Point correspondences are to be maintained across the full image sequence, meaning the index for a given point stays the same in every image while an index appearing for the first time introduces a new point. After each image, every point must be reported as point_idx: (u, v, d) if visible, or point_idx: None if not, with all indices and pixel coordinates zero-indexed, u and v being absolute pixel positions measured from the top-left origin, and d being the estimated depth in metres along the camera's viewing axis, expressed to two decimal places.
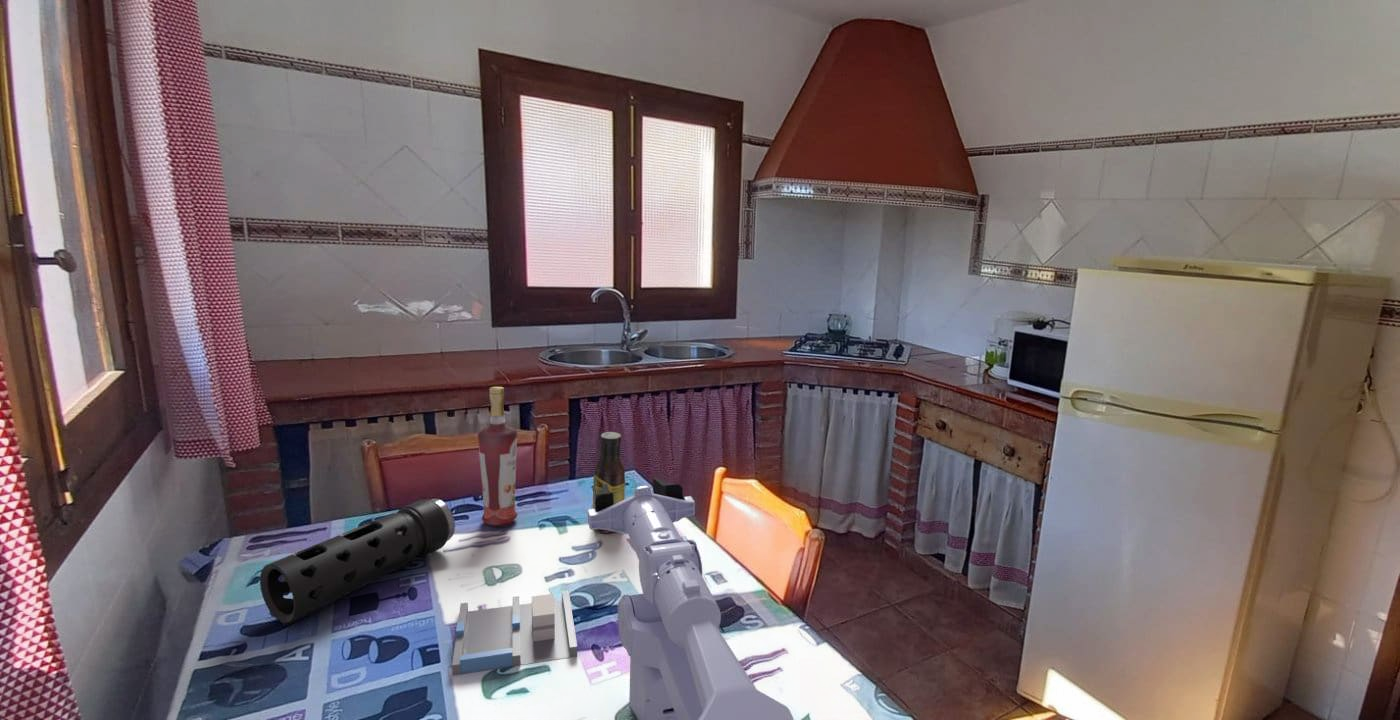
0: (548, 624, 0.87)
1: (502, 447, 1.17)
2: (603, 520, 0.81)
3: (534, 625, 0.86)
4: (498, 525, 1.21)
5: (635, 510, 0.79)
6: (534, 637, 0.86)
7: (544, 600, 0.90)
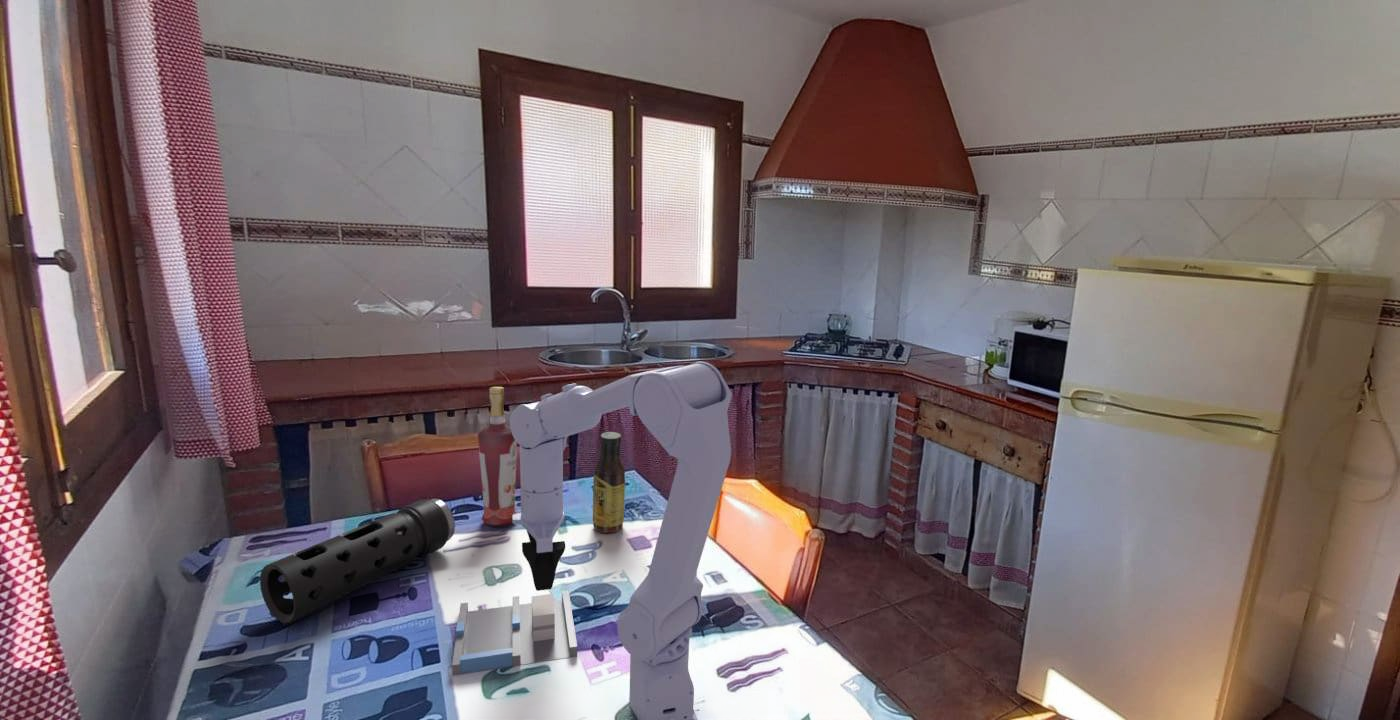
0: (548, 624, 0.87)
1: (502, 447, 1.17)
2: (543, 532, 0.81)
3: (534, 625, 0.86)
4: (498, 525, 1.21)
5: (525, 502, 0.83)
6: (534, 637, 0.86)
7: (544, 600, 0.90)
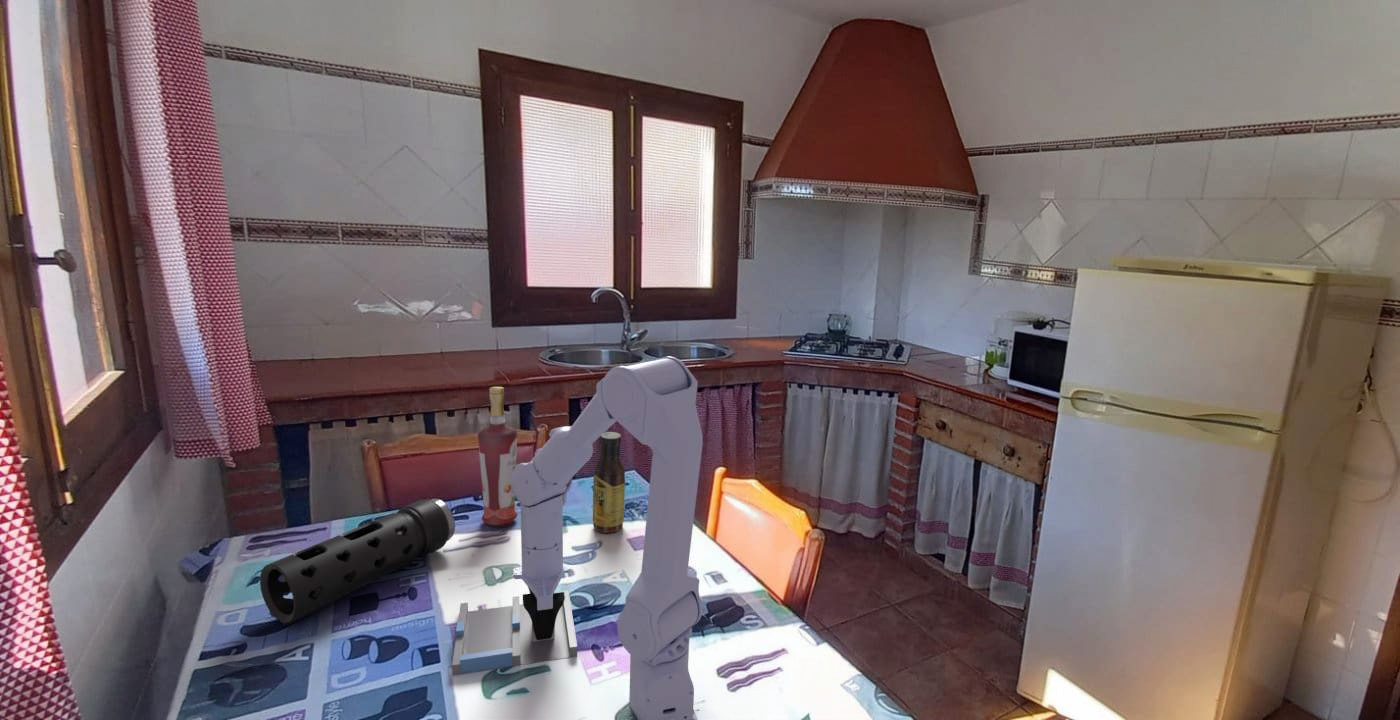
0: None
1: (502, 447, 1.17)
2: (543, 589, 0.82)
3: None
4: (498, 525, 1.21)
5: (525, 558, 0.85)
6: (534, 637, 0.86)
7: None
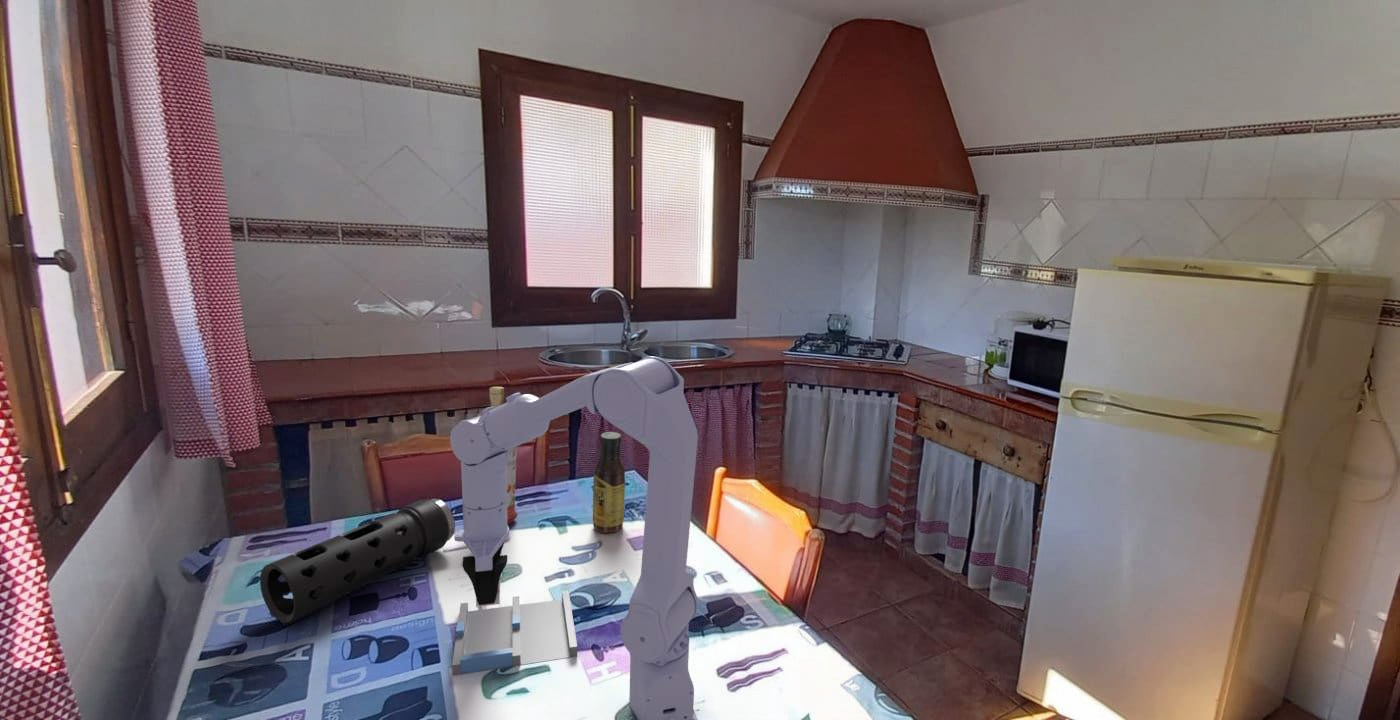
0: None
1: None
2: (483, 550, 0.79)
3: None
4: None
5: (466, 519, 0.81)
6: (477, 602, 0.83)
7: None
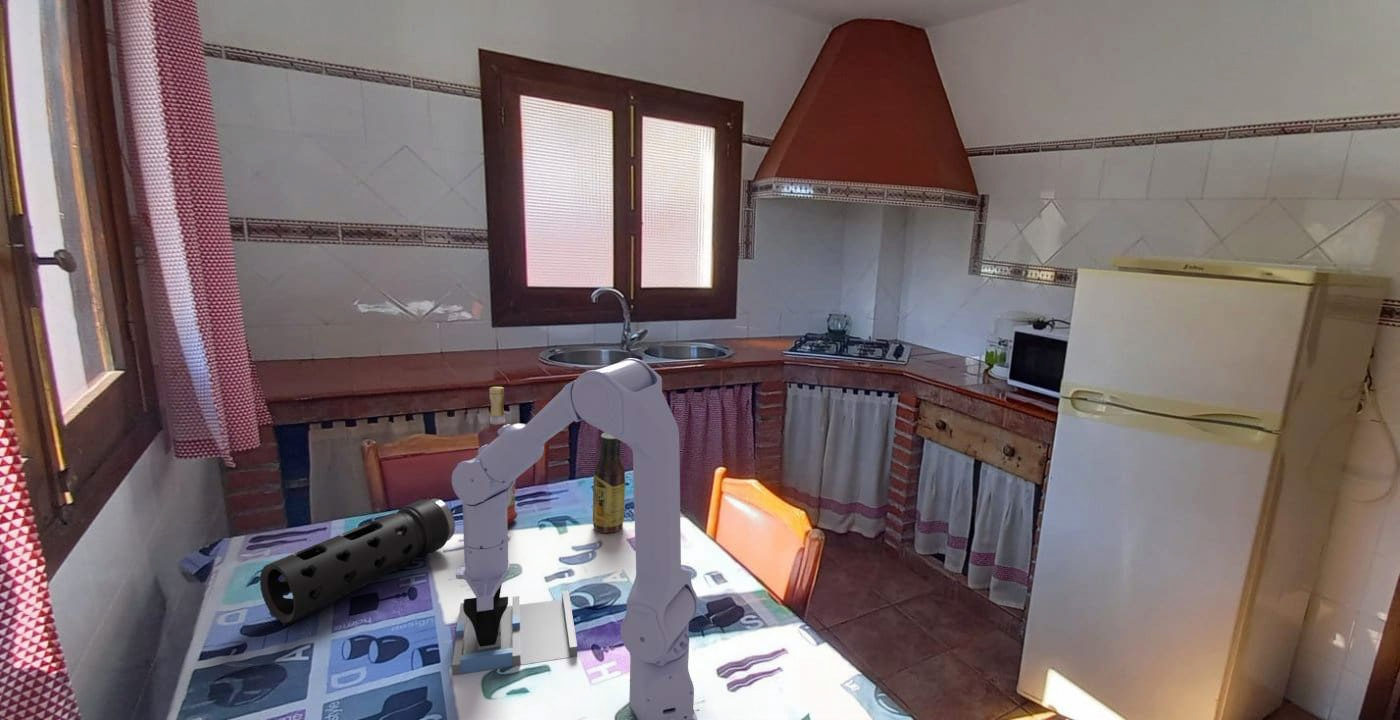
0: None
1: None
2: (484, 589, 0.80)
3: None
4: None
5: (467, 558, 0.82)
6: None
7: None
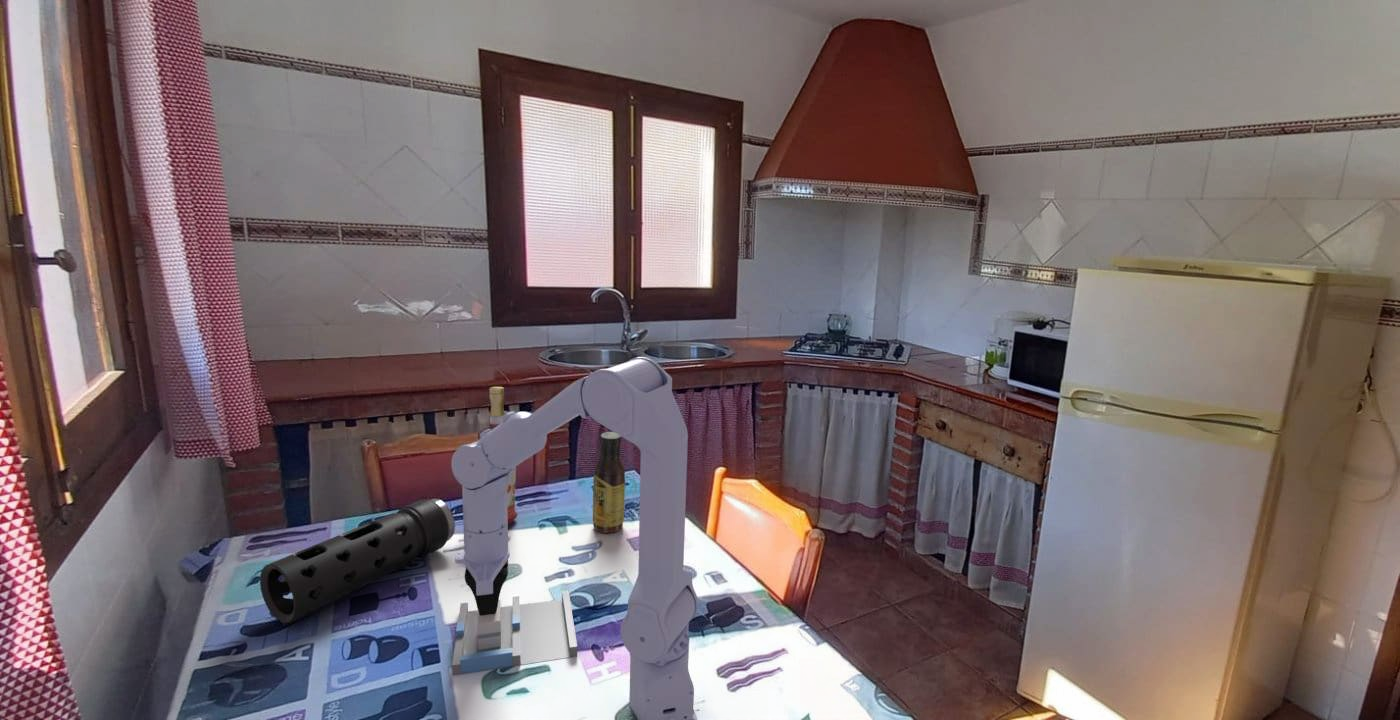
0: (494, 632, 0.85)
1: None
2: (484, 574, 0.79)
3: (479, 633, 0.84)
4: None
5: (467, 542, 0.82)
6: (479, 645, 0.84)
7: None
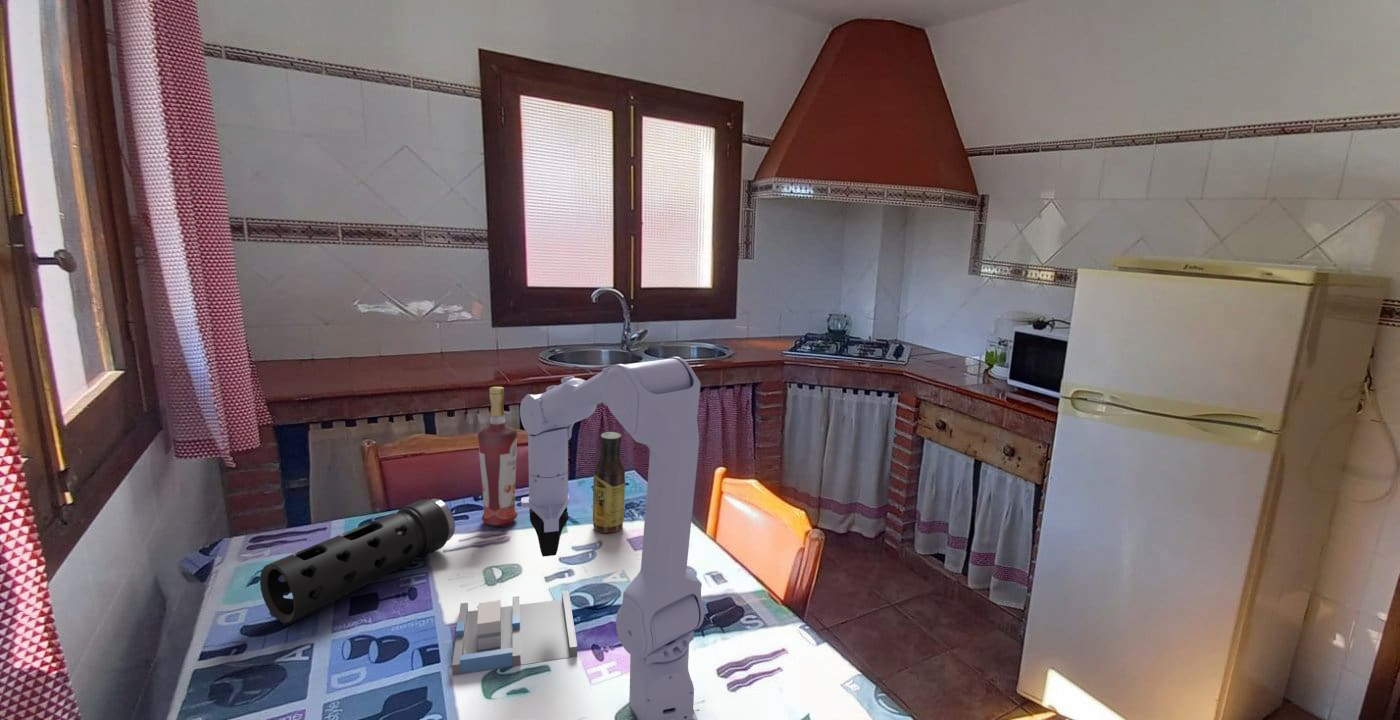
0: (494, 632, 0.85)
1: (502, 447, 1.17)
2: (550, 514, 0.87)
3: (479, 633, 0.84)
4: (498, 525, 1.21)
5: (532, 486, 0.90)
6: (479, 645, 0.84)
7: (491, 607, 0.87)
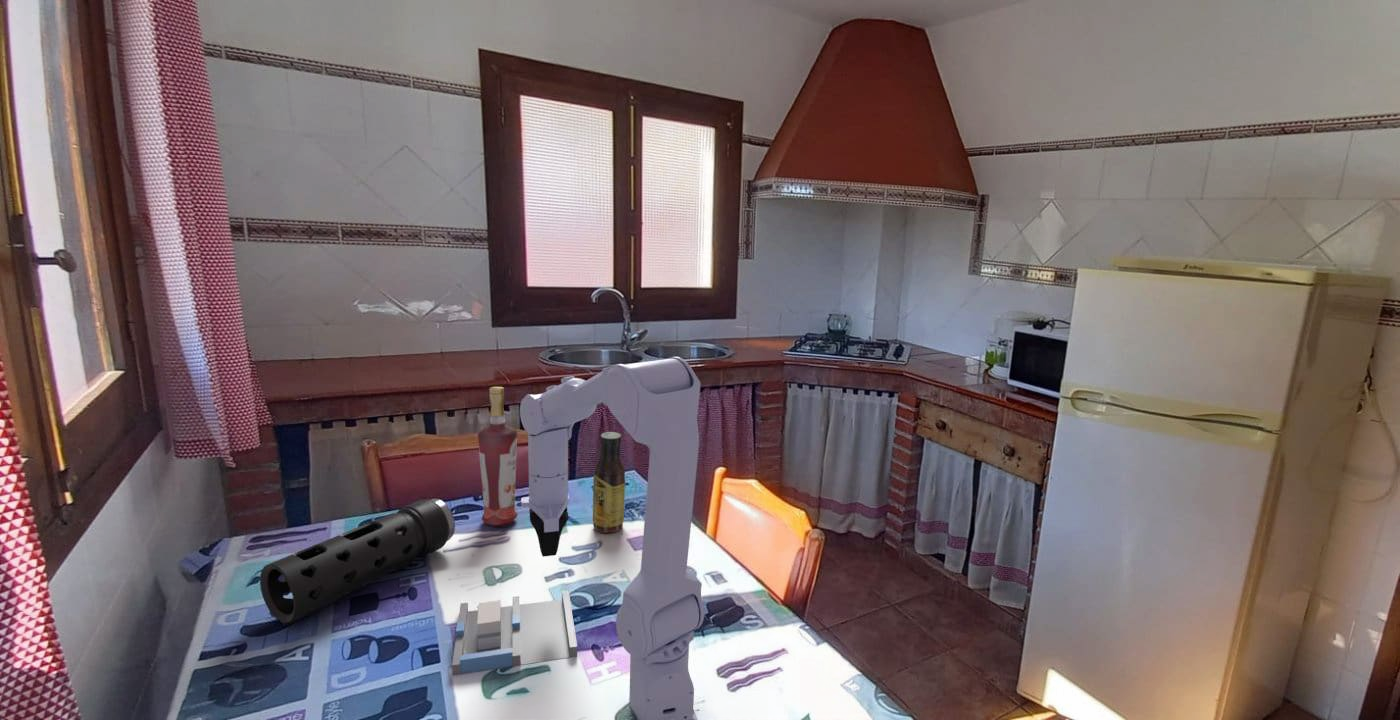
0: (494, 632, 0.85)
1: (502, 447, 1.17)
2: (550, 514, 0.87)
3: (479, 633, 0.84)
4: (498, 525, 1.21)
5: (532, 486, 0.90)
6: (479, 645, 0.84)
7: (491, 607, 0.87)
